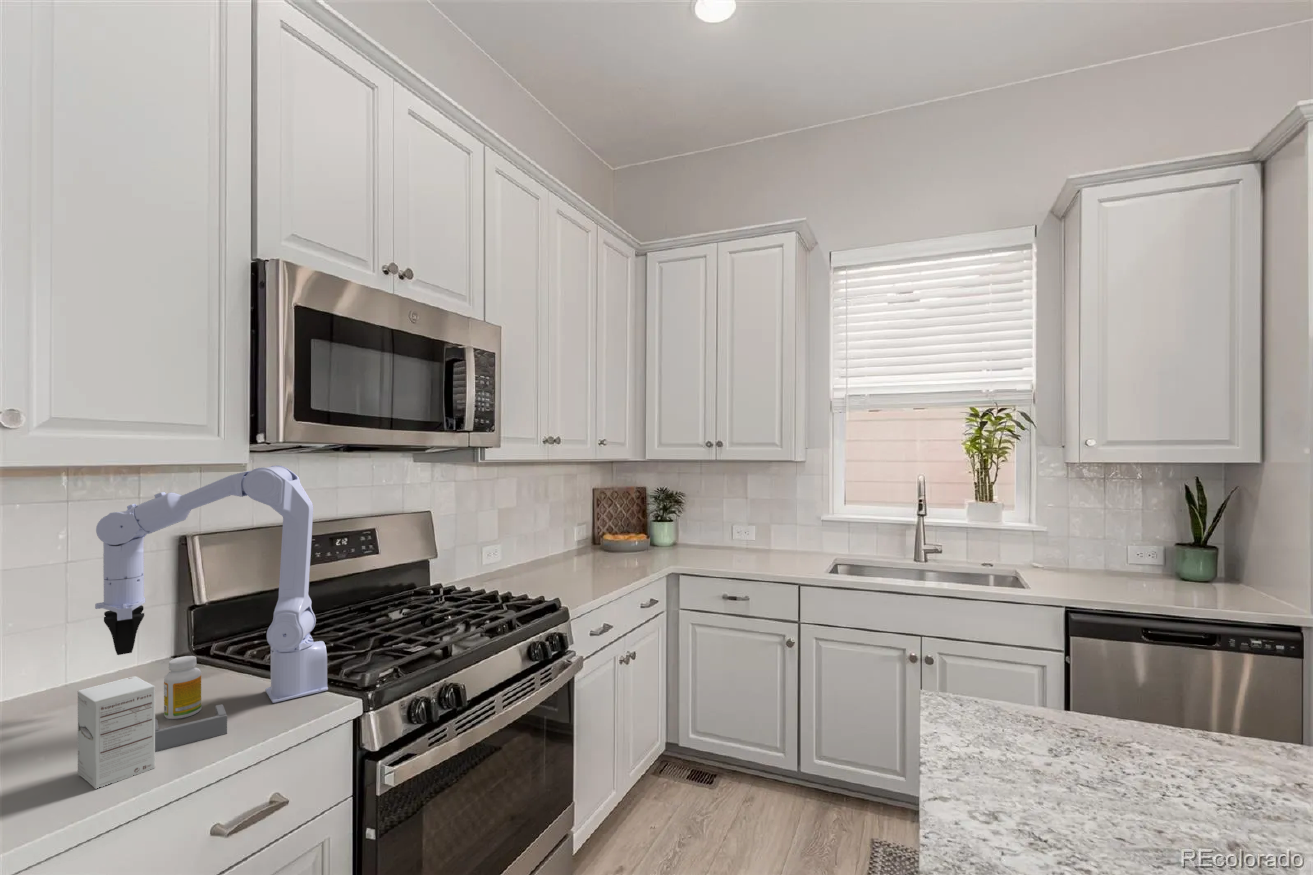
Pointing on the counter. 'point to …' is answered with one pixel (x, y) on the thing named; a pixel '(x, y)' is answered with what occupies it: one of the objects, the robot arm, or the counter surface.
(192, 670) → the supplement bottle
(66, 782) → the counter surface
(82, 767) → the supplement box
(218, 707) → the clip holder
